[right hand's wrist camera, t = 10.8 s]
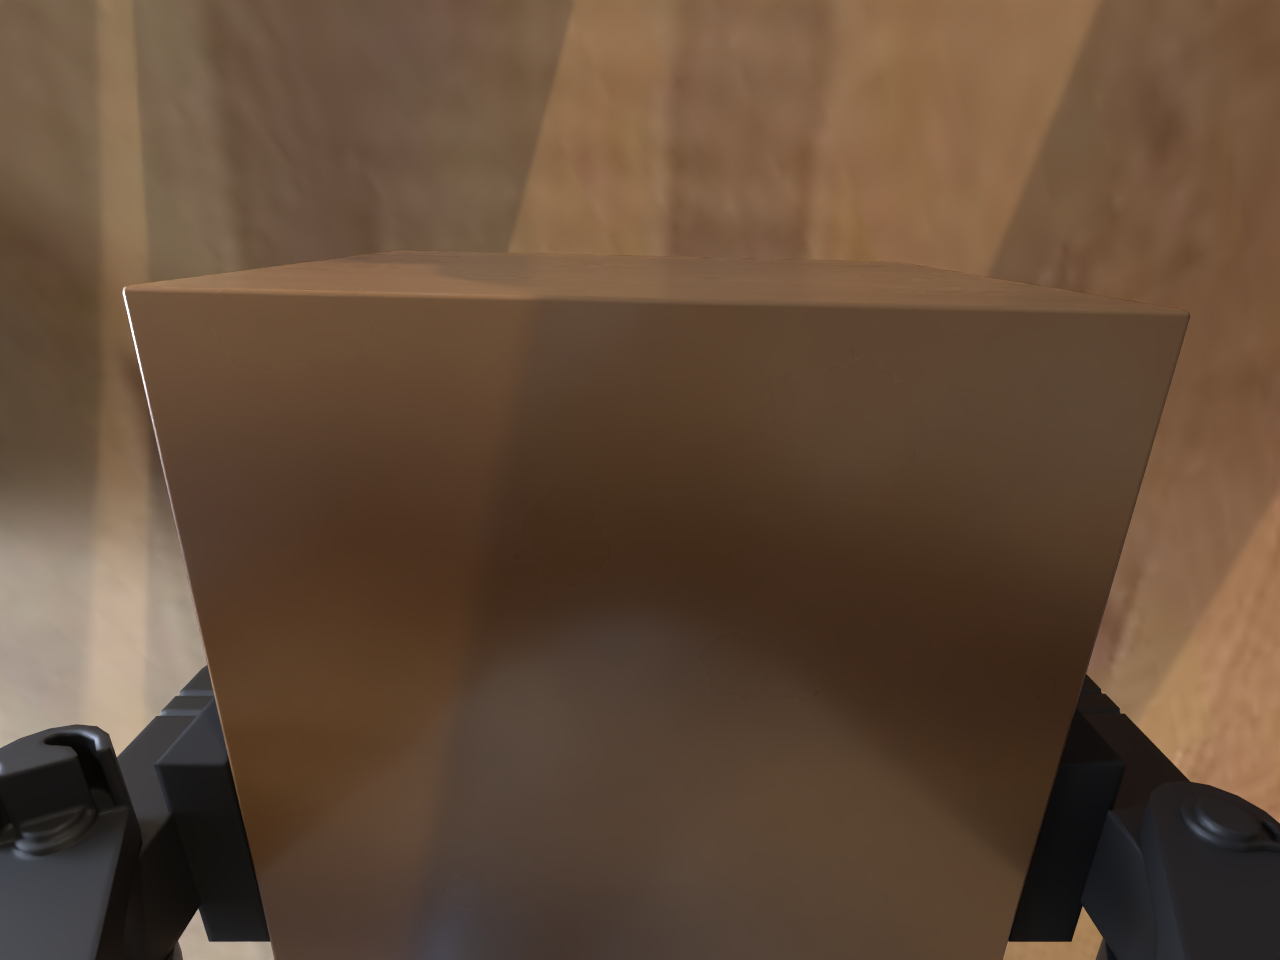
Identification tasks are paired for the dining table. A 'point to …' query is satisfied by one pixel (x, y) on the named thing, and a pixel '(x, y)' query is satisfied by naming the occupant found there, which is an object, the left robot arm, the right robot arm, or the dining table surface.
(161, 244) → the dining table surface
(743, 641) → the thick board
